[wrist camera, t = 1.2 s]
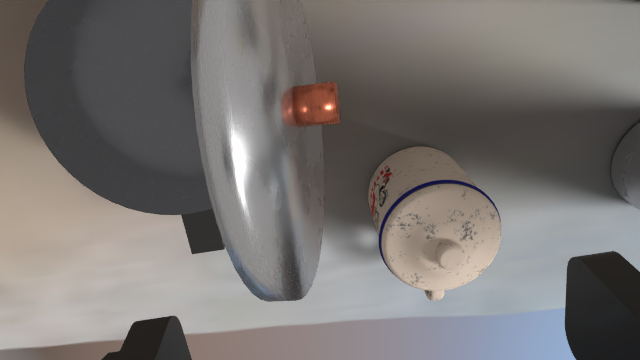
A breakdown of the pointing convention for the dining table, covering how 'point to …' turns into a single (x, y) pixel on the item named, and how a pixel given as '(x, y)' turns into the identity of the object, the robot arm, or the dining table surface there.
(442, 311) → the dining table surface
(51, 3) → the cooker pot
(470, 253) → the teacup with lid
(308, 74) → the lid
